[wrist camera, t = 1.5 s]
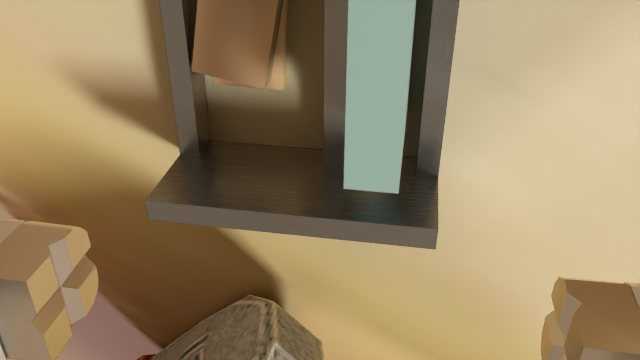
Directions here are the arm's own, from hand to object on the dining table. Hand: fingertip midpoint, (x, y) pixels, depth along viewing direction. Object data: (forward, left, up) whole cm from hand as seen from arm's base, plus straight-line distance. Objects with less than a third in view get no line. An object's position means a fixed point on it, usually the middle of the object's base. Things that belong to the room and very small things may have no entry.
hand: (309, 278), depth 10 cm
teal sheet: (0, 0, -23) cm, 23 cm away
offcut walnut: (+7, 0, -22) cm, 24 cm away
